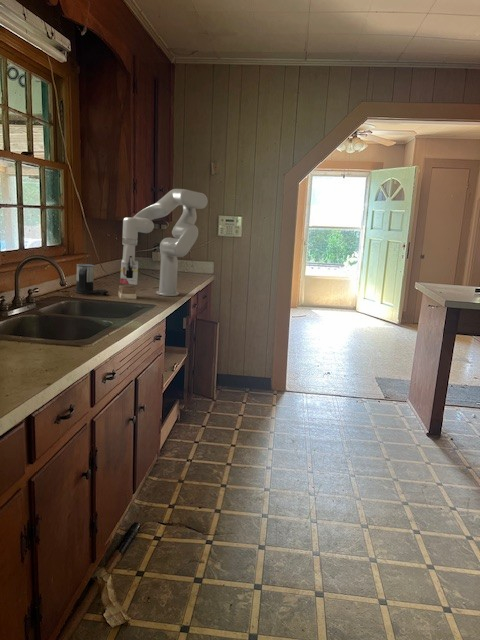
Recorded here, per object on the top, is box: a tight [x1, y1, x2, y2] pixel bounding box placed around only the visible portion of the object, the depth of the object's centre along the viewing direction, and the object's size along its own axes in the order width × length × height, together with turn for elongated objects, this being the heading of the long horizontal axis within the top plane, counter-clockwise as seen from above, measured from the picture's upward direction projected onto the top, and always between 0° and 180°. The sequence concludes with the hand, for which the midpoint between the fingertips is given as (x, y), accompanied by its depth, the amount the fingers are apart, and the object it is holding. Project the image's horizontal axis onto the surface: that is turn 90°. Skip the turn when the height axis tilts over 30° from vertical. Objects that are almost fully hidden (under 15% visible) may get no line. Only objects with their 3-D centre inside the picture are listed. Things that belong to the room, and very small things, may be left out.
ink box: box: [120, 259, 139, 285], centre depth 250 cm, size 9×5×12 cm, turn 101°
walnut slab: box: [118, 285, 137, 295], centre depth 252 cm, size 7×7×3 cm
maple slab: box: [118, 291, 137, 300], centre depth 253 cm, size 8×8×3 cm
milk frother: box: [75, 263, 109, 295], centre depth 253 cm, size 14×16×15 cm
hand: (128, 276), depth 250 cm, fingers closed on ink box, 5 cm apart
